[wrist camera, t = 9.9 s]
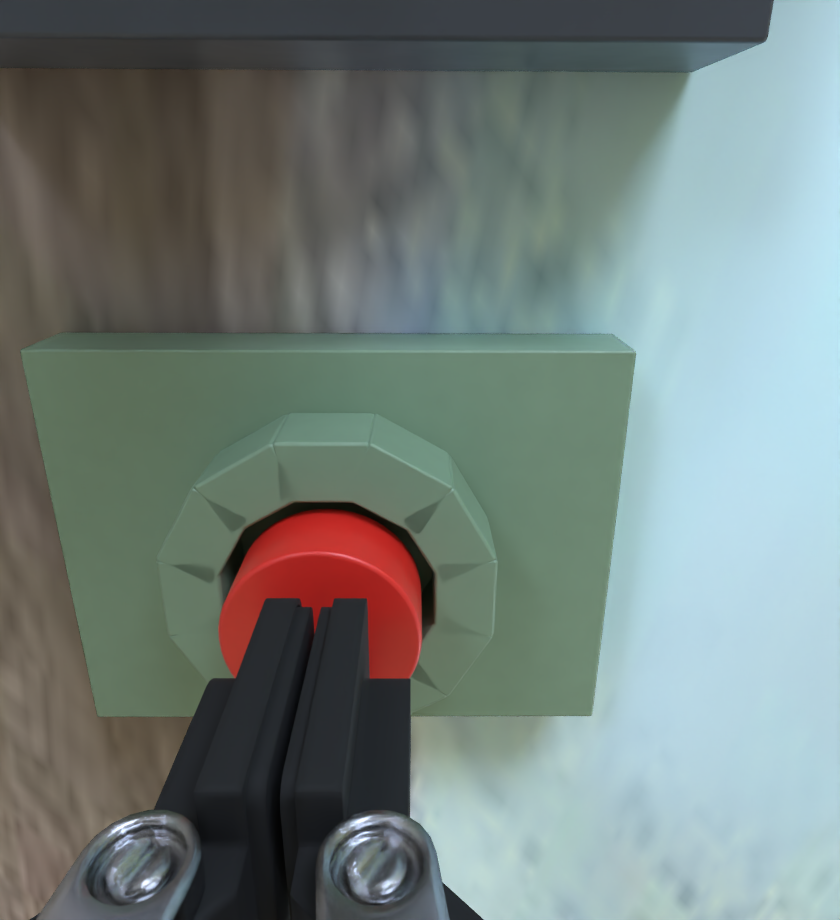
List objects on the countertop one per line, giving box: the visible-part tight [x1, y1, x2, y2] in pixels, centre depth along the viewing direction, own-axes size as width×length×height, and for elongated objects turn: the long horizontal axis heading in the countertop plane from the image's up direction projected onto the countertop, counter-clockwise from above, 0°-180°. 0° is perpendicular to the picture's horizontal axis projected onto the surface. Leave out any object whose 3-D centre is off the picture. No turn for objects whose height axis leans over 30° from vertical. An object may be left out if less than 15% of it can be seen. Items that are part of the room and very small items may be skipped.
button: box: [218, 509, 422, 678], centre depth 13 cm, size 4×4×2 cm
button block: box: [20, 333, 636, 717], centre depth 15 cm, size 12×9×4 cm
